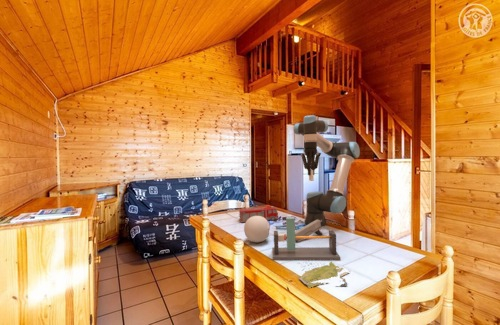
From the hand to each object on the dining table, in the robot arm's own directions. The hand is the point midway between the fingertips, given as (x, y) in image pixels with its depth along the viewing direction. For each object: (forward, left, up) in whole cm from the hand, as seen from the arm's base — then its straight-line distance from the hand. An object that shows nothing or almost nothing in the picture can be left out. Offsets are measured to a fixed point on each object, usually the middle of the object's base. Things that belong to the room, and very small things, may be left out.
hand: (311, 180), depth 148 cm
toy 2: (+34, -4, -35) cm, 49 cm away
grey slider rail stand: (+18, +23, -34) cm, 45 cm away
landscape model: (+19, +46, -35) cm, 61 cm away
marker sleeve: (+24, +20, -31) cm, 44 cm away
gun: (+3, +2, -35) cm, 35 cm away
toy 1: (+20, -47, -35) cm, 62 cm away
